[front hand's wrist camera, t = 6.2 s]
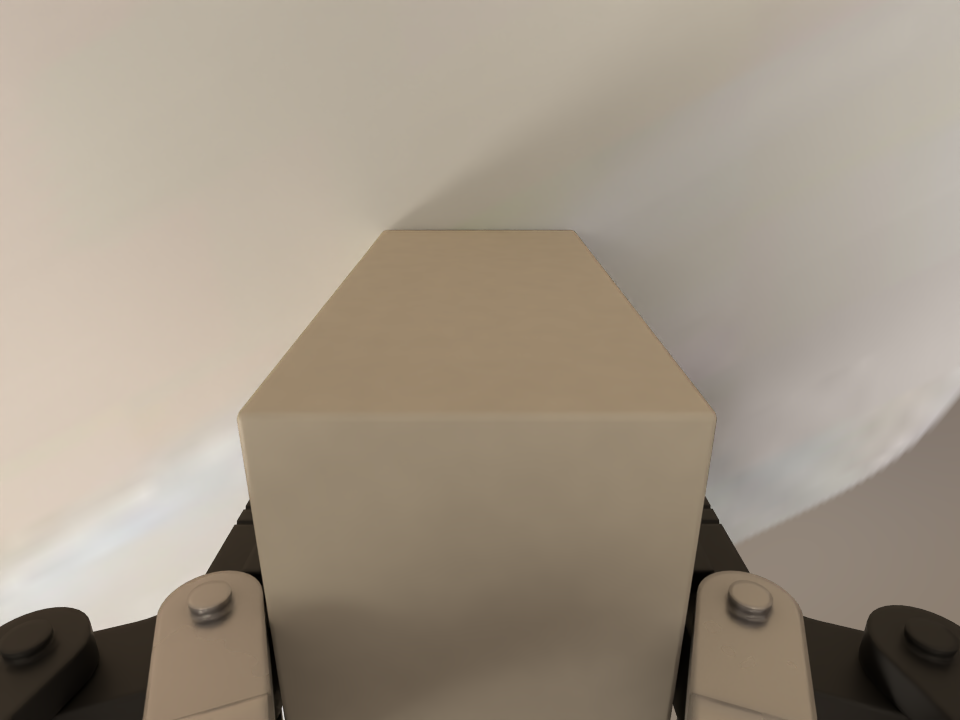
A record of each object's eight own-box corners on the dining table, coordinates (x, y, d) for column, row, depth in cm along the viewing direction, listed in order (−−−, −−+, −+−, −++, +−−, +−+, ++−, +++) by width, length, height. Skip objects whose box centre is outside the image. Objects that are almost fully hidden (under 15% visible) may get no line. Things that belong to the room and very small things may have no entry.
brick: (397, 488, 19) (309, 888, 9) (382, 229, 16) (231, 414, 6) (561, 488, 19) (646, 890, 9) (575, 229, 16) (720, 414, 6)
